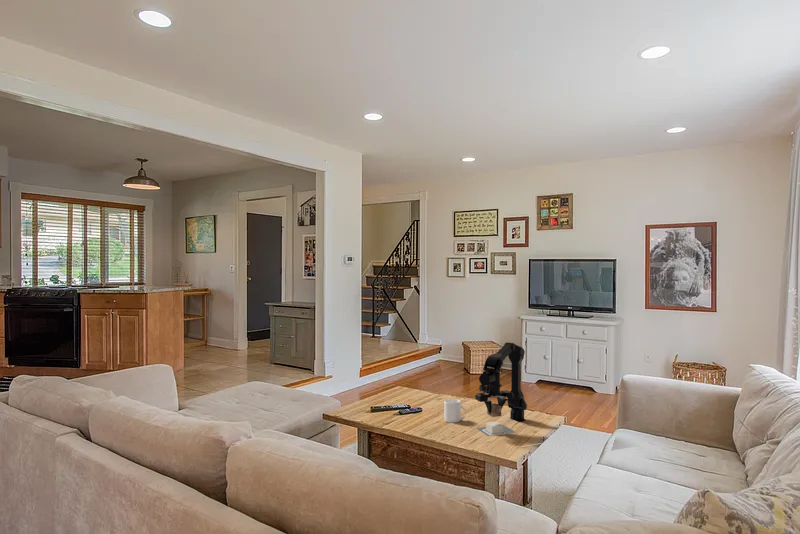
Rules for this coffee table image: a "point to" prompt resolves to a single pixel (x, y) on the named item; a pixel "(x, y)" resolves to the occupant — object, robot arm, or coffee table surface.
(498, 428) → the base block
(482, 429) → the grey flat rectangular panel
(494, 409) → the walnut cube
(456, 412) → the mug
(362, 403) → the coffee table surface
